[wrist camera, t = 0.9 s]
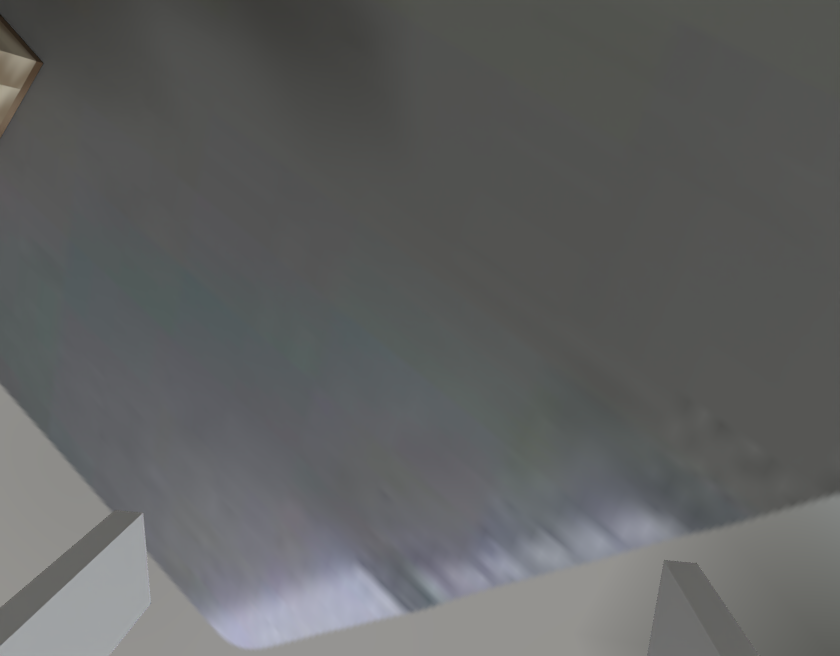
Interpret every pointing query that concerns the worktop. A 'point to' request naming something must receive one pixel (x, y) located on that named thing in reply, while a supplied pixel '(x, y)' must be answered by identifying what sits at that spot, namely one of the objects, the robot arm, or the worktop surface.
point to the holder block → (14, 72)
